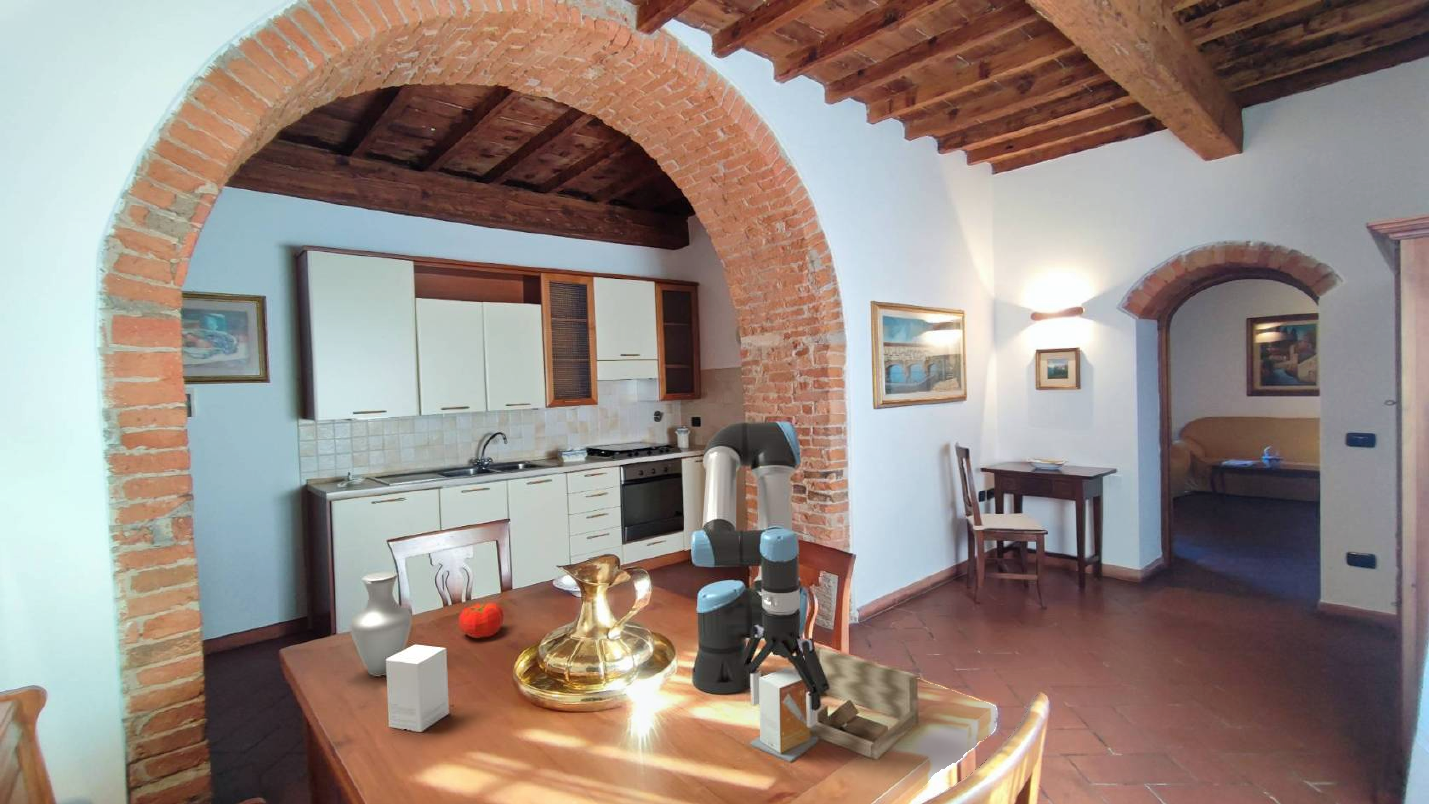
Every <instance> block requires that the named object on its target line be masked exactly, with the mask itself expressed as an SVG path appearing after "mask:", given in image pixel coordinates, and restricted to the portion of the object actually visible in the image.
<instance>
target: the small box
mask: <svg viewBox="0 0 1429 804" xmlns="http://www.w3.org/2000/svg"><path fill="white" fill-rule="evenodd" d="M807 692H809V690H808V689H807V687H806V685H805V684H804V682H803V680H802V679H801V677H800V675H799V674H798V672H797V670H796V669H793V668H791V667H789V666H787V667H785V668H782V669H778V670H775V671H772V672H770V673H769V674H766V675H763V676H762V675H761V677H760V678H759V703H758V704H759V736H760V741H761V742H763V743H764V744H766V745H767V746H769V747H771V748H772V749H774V750H775V751H777V752H779V753H783V752H785V751H787V750H789V749H791V748H793V747H795V746H798V745H800V744H802V743H804V742H807V741H809V740H810V735H811V734H810V730H809V727H807V716H806V693H807Z"/></svg>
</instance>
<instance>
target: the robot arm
mask: <svg viewBox="0 0 1429 804" xmlns="http://www.w3.org/2000/svg"><path fill="white" fill-rule="evenodd" d="M800 451H801V448H800V443H799V436H798V432H797V429H796V427H795V425H794V423H791V422H789V421H777V420H775V421H767V422H766V421H761V422H760V421H758V422H756V421H755V422H753V421H752V422H751V421H750V422H734V423H730V424H728V425H726V426H723V427H722V428H721V429H720V430H719V429H718V431H717V432H716V433H715V434H713V435H712V437H711V438H710V439H709V441H708V443H707V445H706V447H705V448H704V450H703V454H702V455H703V456H702V465H703V468H704V469H705V485H704V498H703V499H704V500H703V515H702V528H701V529H700V530H695V531H694V532H692V534H691V543H690V549H691V551H690V552H691V561H692V564H693V565H695V566H696V567H704V568H705V567H708V568H714V567H721V568H723V567H758V568H759V573H758V575H757V576H756V577H755V578H754V580H753V588H751V587H750V588H749V587H748V588H747V587H746V585H745V583H744V582H743V581H741V580H735V579H731V580H730V579H728V580H721V581H715V582H713V583H712V582H711V583H710V584H707V585H706V586H704V587H702V588H701V589H700V590H699V592H698V593H697V601H696V602H697V603H696V604H697V606H696V613H697V637H698V638H697V640H698V643H697V644H698V648H697V649H698V650H697V653H696V656H695V660H694V664H693V667H692V671H691V679H692V680H691V682H692V684H693V686H694V687H695V688H697V689H698V690H699V691H702V692H706V693H709V694H718V695H719V694H720V695H721V694H722V695H723V694H725V695H726V694H733V693H734V694H735V693H738V692H742V691H744V690H746V689H749V688H750V706H753V707H755V706H757V705H758V704H759V678H760V677H762V670H761V669H759V668H760V666H761V665H762V664H763V663H764V661H765V660H766V659H767V658H768V657H769V655H770V654H772V655H774V656H779V657H781V658H784V659H787V660H788V662H789V663H790V664H792V665H793V667H794V670H795V671H797V672H798V674H799V675H800V677H801V679H802V680H803V682H804V684H805V685H806V687H807V689H808V690H809V692H807V693H806V716H807V727H809V728H811V727H812V726H813V725H815V724H816V723H817V722H818V713H817V710H818V709H819V708H820V706H821V704H822V703H821V695H822V694H823V693H824V692H825V691H827V690H828V689H829V688H830V687H829V684H828V681H827V679H826V676H825V674H824V671H823V669H822V666H821V664H820V661H819V659H818V657H817V654H816V652H815V648H816V647H815V640H814V639H813V637H812V638H811V637H810V638H808V639H805V638H804V639H803V638H801V637H802V636H803V635H804V633H805V629H806V622H807V615H808V602H809V601H808V594H809V593H808V592H809V590H808V588H807V587H805V586H802V580H801V578H800V576H799V575H800V574H799V573H800V566H799V565H800V563H799V562H800V559H799V558H800V557H799V552H800V547H799V546H800V545H799V536H798V533H797V532H796V531H793V515H792V514H793V513H792V512H793V511H792V490H791V477H793V476H794V474H796V472H797V471H796V467H798V466H800V465H801V463H802V460H801V459H802V458H801V452H800ZM741 467H743V468H744V467H745V468H748V467H750V474H751V476H753V477H754V478H755V479H756V486H757V489H756V493H757V525H758V527H757V529H748V530H747V529H745V530H744V529H742V530H741V529H740V530H739V529H737V472H738V471H739V469H740V468H741ZM747 639H748V640H747ZM761 639H762V640H763V639H764V642H765V644H764V645H763V646H762V648H761V649H760V650H759V652H758V654H757V655H756V656H755V653H756V651H757V649H758V646H759V644H760V642H761ZM754 656H755V657H754Z"/></svg>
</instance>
